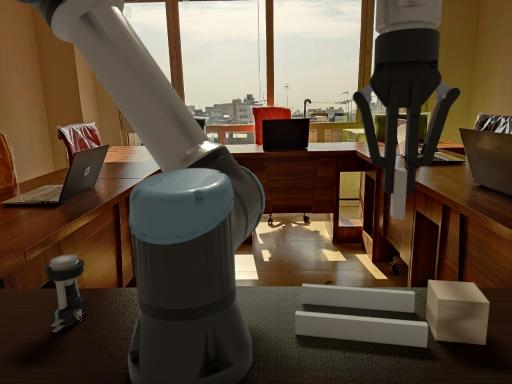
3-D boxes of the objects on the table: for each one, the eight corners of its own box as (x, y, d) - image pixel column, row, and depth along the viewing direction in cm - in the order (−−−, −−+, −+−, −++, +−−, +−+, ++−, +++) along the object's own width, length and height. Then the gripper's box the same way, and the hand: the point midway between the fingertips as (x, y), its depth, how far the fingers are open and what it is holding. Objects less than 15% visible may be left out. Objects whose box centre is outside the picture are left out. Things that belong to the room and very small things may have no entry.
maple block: (435, 340, 50) (438, 298, 49) (425, 317, 56) (428, 279, 55) (485, 345, 49) (489, 302, 47) (470, 321, 54) (473, 282, 53)
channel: (295, 334, 52) (295, 314, 52) (302, 300, 62) (302, 283, 61) (426, 347, 48) (428, 326, 48) (412, 309, 58) (413, 291, 57)
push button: (70, 336, 53) (61, 270, 51) (37, 333, 54) (27, 268, 52) (97, 312, 60) (90, 253, 58) (67, 310, 60) (59, 252, 59)
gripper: (353, 29, 44) (348, 222, 49) (475, 20, 41) (457, 226, 46) (351, 41, 51) (347, 208, 56) (455, 34, 48) (442, 211, 53)
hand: (397, 216), depth 51 cm, fingers closed
